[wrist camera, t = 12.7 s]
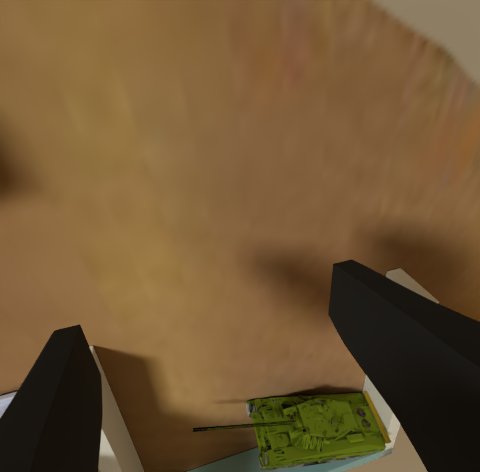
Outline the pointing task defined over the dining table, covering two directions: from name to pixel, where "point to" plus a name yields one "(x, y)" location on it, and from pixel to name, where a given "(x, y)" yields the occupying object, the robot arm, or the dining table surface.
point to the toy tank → (313, 429)
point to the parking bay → (246, 463)
